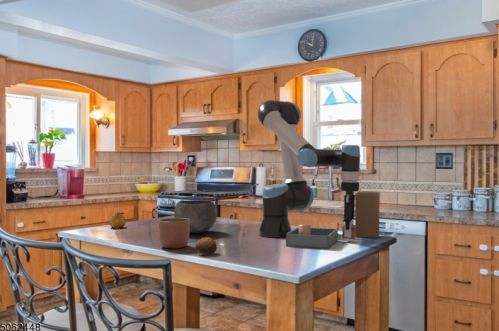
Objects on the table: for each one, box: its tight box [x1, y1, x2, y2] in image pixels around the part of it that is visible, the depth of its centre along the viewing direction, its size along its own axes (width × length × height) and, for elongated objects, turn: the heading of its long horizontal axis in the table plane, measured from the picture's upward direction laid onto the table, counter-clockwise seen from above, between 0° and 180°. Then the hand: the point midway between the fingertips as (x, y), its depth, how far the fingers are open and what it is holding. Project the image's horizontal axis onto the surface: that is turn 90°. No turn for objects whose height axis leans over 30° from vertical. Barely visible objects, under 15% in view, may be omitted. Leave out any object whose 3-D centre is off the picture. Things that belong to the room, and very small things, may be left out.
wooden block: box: [354, 191, 380, 239], centre depth 202 cm, size 10×10×20 cm
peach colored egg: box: [298, 223, 312, 235], centre depth 186 cm, size 5×5×7 cm
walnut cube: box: [341, 223, 357, 240], centre depth 189 cm, size 5×5×5 cm
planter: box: [158, 217, 190, 250], centre depth 179 cm, size 12×12×11 cm
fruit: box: [108, 212, 127, 229], centre depth 231 cm, size 8×8×8 cm
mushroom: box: [195, 236, 217, 256], centre depth 166 cm, size 8×8×6 cm
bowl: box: [173, 199, 218, 234], centre depth 213 cm, size 20×20×15 cm
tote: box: [285, 226, 339, 250], centre depth 185 cm, size 17×19×5 cm
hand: (348, 236), depth 189 cm, fingers closed on walnut cube, 5 cm apart
